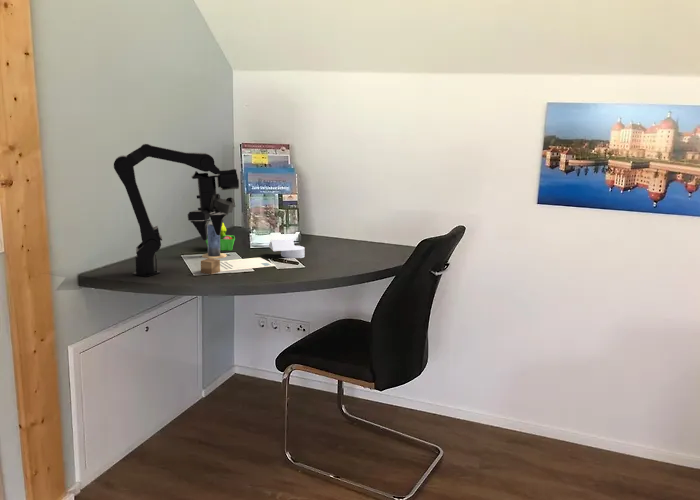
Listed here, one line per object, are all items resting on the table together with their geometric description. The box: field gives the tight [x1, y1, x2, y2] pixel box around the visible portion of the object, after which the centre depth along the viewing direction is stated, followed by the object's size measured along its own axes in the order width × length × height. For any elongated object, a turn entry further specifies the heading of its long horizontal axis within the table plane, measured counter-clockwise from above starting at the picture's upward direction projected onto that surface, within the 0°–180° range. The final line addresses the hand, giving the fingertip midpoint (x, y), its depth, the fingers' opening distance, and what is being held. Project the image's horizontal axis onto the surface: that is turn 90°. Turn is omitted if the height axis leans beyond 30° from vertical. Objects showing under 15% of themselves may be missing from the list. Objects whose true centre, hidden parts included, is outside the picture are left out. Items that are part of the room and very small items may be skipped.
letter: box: [220, 257, 277, 272], centre depth 224 cm, size 21×15×1 cm
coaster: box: [201, 252, 227, 260], centre depth 235 cm, size 9×9×1 cm
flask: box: [207, 221, 221, 257], centre depth 234 cm, size 5×5×12 cm
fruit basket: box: [205, 222, 236, 251], centre depth 247 cm, size 11×9×11 cm
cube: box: [200, 258, 221, 275], centre depth 211 cm, size 4×4×4 cm
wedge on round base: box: [268, 238, 306, 259], centre depth 239 cm, size 9×7×13 cm
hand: (211, 237), depth 211 cm, fingers open, 9 cm apart
